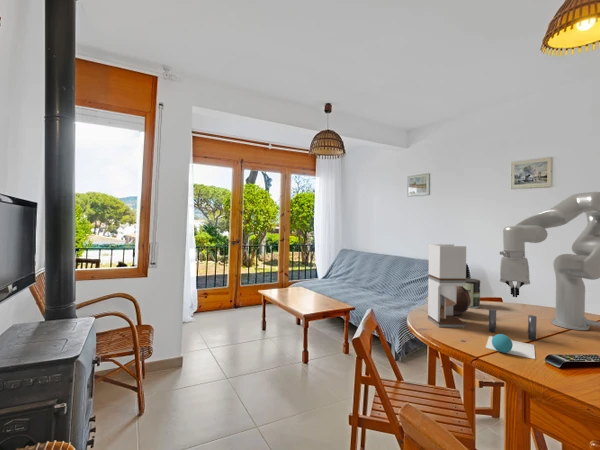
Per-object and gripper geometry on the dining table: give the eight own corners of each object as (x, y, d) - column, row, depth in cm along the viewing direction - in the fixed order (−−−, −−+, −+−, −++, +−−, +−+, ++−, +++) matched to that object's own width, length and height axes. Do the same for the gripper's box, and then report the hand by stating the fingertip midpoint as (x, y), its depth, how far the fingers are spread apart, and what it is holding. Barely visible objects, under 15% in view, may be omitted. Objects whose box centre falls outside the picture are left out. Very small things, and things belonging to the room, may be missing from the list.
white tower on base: (438, 327, 127) (440, 246, 127) (427, 319, 138) (428, 244, 137) (465, 327, 127) (466, 246, 127) (452, 319, 138) (453, 244, 137)
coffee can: (475, 303, 165) (476, 278, 165) (483, 308, 155) (483, 282, 155) (455, 302, 167) (456, 277, 167) (461, 307, 157) (462, 281, 157)
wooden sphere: (429, 311, 150) (430, 281, 150) (450, 308, 156) (451, 279, 156) (455, 320, 136) (456, 288, 136) (477, 316, 142) (478, 285, 142)
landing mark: (534, 345, 109) (534, 344, 109) (535, 359, 98) (535, 358, 98) (489, 336, 117) (489, 335, 117) (485, 348, 106) (485, 347, 106)
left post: (496, 331, 123) (496, 309, 123) (495, 333, 121) (496, 311, 121) (489, 329, 124) (489, 308, 124) (488, 331, 122) (488, 310, 122)
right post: (536, 339, 115) (536, 316, 115) (536, 341, 113) (536, 317, 113) (527, 337, 117) (528, 314, 116) (528, 339, 115) (528, 316, 114)
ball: (512, 355, 103) (513, 338, 105) (511, 353, 98) (513, 335, 100) (491, 350, 106) (493, 333, 108) (490, 348, 102) (492, 330, 104)
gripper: (492, 254, 130) (493, 296, 130) (536, 256, 121) (537, 300, 121) (494, 253, 136) (495, 292, 136) (535, 254, 127) (536, 296, 127)
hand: (515, 296), depth 129 cm, fingers closed
